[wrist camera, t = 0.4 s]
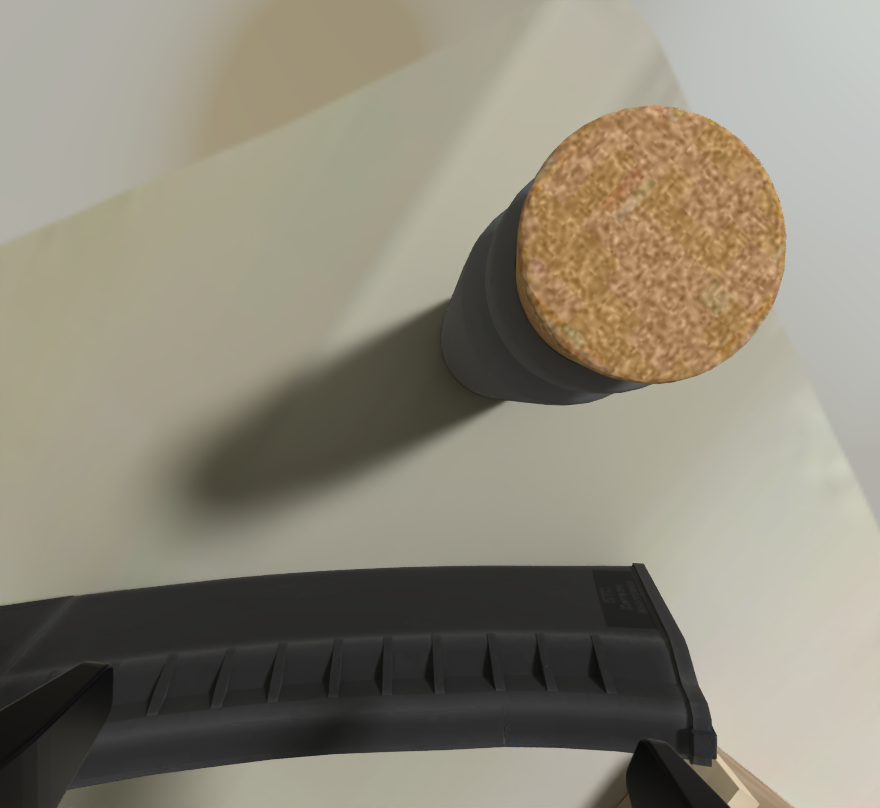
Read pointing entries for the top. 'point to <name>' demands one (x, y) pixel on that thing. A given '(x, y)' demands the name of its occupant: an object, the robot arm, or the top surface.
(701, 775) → the frame
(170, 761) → the magazine
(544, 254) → the bottle
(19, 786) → the robot arm
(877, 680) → the top surface
